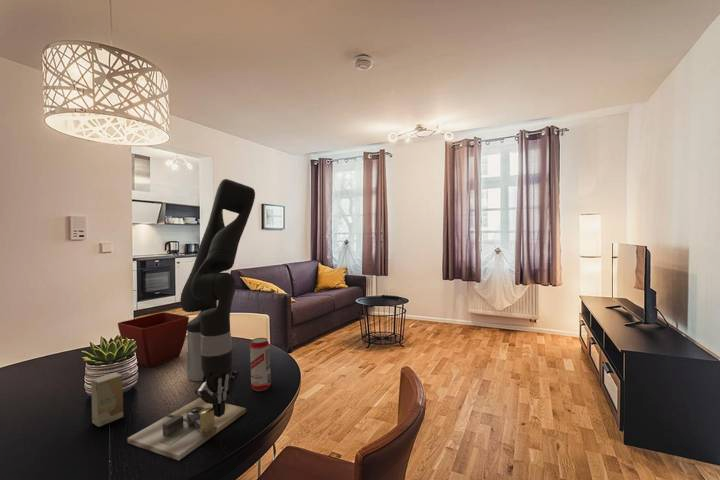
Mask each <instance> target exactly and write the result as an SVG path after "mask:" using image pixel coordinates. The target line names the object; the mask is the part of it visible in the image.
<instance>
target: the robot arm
mask: <svg viewBox="0 0 720 480" xmlns="http://www.w3.org/2000/svg"><path fill="white" fill-rule="evenodd" d="M255 198H256V191H255V189H254V188H253V187H252V186H251V187H250V186H248V185H245V184H243V183H241V182H236V181H234V180H232V179H228V178H225V179H222V180H221V181H220V183H219V185H218V187H217V189H216V192H215V196H214V201H213V204H212V208H211V212H210V214H209V219H208V223H207V225H206V228H205V231H204V233H203V236H202V239H201V241H200V244H199V247H198V250H197V253H196V257H195V261H194V263H193V265H192V269H191V271H190V273H189V275H188V278H187V279H186V282H185V284H184V286H183V289H182V290H181V294H180V303H179V304H180V307H181V309H182V310H183V311H184V312H186V313H196V312H199V314H198V315H196V317H194V318H192V319H191V320H190V321H188V324H187V333H186V334H187V347H188V348H187V351H186V353H185V354H186V374H187V377H186V378H188V379H189V380H190V381H191V382H192V381H193V382H202V384H201V386H200V387H198V388H196V389H195V390H194V393H195V395H196V396H197V397H198V398H201V399H202V400H203V401H204V402H206V403H209V404H213V408H214V416H216V417H221V416H222V415H224V414H225V403H226V399H227V396H230V395H231V393H232V392H233V389H234V386H235V385H236V384H235V383H236V381H237V379H238V376H239V371H236V370H233V368H232V366H233V365H234V364H233V363H234V362H233V360H234V359H233V340H232V339H233V338H232V334H231V333H232V332H231V309H232V304H233V300H234V295H235V292H236V286H237V284H236V279H235V277H234V276H233V275H232V274H231V273H229V272H228V271H229V270H231V269H232V268H233V267H234V265H235V261H236V256H237V252H238V247H239V243H240V240H241V238H242V235H243V233H244V230H245V228H246V226H247V222H248V220H249V217H250V215H251V211H252V209H253V206H254V203H255ZM224 210H226V211H228V212H231V213H235V214H238V215H237V216H236V218H235V219H233V220H232V221H231V222H230V223H228V224H227V225H226V226H225V221H224V216H223V215H224V212H223V211H224ZM226 271H227V272H226ZM217 301H218V302H217Z"/></svg>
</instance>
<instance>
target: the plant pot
mask: <svg viewBox="0 0 720 480" xmlns="http://www.w3.org/2000/svg"><path fill="white" fill-rule="evenodd" d="M189 320H190V317H189V315H188V316H187V315H183V314H182V315H181V314H177V313H171V312H157V313H154V314H151V315H150V314H148V315H146V316H141V317H138V318H133V319H128V320H123V321H119V322H117V328H118V331H119V335H120V337H121V339H125V338H126V337H127V338H128V339H134V340H135V341H136V345H137V350H136V356H137V361H138V364H137V365H140V366H144V367H146V368H152V367H154V366H155V367H156V366H158V365H160V364H163V363H165V362H168V361H171V360H174V359H177V358H179V357H180V356H181V353H182V350H183V348H184V344H185V340H186V337H187V334H188V333H187V324H188V323H189V322H190V321H189Z"/></svg>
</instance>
